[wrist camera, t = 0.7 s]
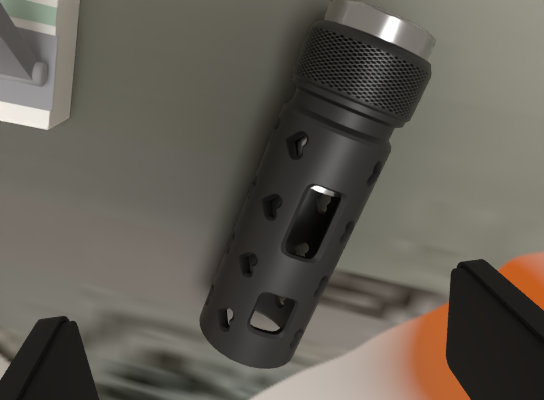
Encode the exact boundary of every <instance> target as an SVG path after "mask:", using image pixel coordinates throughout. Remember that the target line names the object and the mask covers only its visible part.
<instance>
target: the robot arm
mask: <svg viewBox="0 0 544 400" xmlns="http://www.w3.org/2000/svg"><path fill="white" fill-rule="evenodd" d="M446 359H447V363H448V365H449V368H450V370H451V371H452V373H453V374H454V375H455V377H456V378H457V380H458V381H459V383H460V384H461V386H462V387H463V389H464V390H465V391H466V393H467V394H468V396H469V397H470V399H471V400H544V311H543V310H542V309H541V308H540V307H539V306H538V305H536V304H535V303H534V302H533V301H532V300H530V298H528V297H527V296H526V295H525V294H524V293H522V292H521V291H520V290H519V289H518V288H517V287H515V286H514V285H513V284H512V283H511V282H510V281H509V280H507V279H506V278H505V277H504V276H503V275H502V274H500V273H499V272H498V271H497V270H496V269H495V268H493V267H492V266H491V265H490V264H489V263H488V262H486V261H485V260H483V259H479V260H472V261H464V262H460V263H458V265H457V268H455V269H453V270H452V272H451V281H450V297H449V312H448V328H447V344H446ZM0 400H99V397H98V394H97V391H96V387H95V384H94V380H93V377H92V374H91V370H90V367H89V363H88V360H87V357H86V353H85V350H84V346H83V343H82V339H81V336H80V333H79V329H78V326H77V323H76V322H75V321H69V319H68V318H67V317H66V316H60V317H53V318H45V319H40V320H38V322H37V323H36V324H35V326H34V327H33V329H32V331H31V332H30V334H29V335H28V337H27V339H26V340H25V342H24V343H23V345H22V347H21V348H20V350H19V351H18V353H17V354H16V356H15V358H14V359H13V361H12V362H11V364H10V366H9V367H8V369H7V370H6V372H5V374H4V375H3V377H2V378H1V380H0Z"/></svg>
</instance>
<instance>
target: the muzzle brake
mask: <svg viewBox="0 0 544 400" xmlns="http://www.w3.org/2000/svg"><path fill="white" fill-rule="evenodd" d="M434 45H435V38H434V37H433V36H432V35H431V34H430V33H429V32H428V31H426V30H425V29H423V28H422V27H420V26H418V25H416V24H415V23H413V22H411V21H409V20H407V19H405V18H403V17H400V16H398V15H396V14H393V13H391V12H388V11H386V10H383V9H380V8H378V7H375V6H372V5H369V4H365V3H362V2H358V1H354V0H332V1H331V2H330V4H329V7H328V9H327V12H326V14H325V17H324V19H318V20H317V21H315V22H314V23H313V24H312V25H311V26H310V27H309V29H308V32H307V34H306V37H305V40H304V42H303V45H302V47H301V50H300V52H299V55H298V57H297V60H296V63H295V65H294V68H293V70H292V74H293V76H294V77H293V80H292V82H293V83H294V85H295V86H296V87H297V88H296V91H295V93H294V96H293V99H292V100H291V101H288V102H286V103H285V104H284V105H283V106H282V108H281V111H280V114H279V116H278V119H277V121H276V124H275V127H274V129H273V131H272V134H271V136H270V139H269V142H268V144H267V147H266V149H265V152H264V154H263V157H262V159H261V162H260V164H259V167H258V170H257V172H256V175H255V177H254V180H253V183H252V185H251V187H250V190H249V192H248V195H247V198H246V200H245V203H244V205H243V208H242V210H241V213H240V215H239V218H238V220H237V223H236V226H235V228H234V231H233V233H232V236H231V238H230V241H229V243H228V246H227V248H226V251H225V254H224V256H223V259H222V261H221V264H220V266H219V269H218V271H217V274H216V276H215V279H214V282H213V284H212V287H211V289H210V292H209V294H208V297H207V299H206V302H205V304H204V307H203V310H202V312H201V315H200V327H201V330H202V332H203V334H204V336H205V337H206V339H207V340H208V341H209V343H210V344H211V345H212V346H213V347H214V348H215V349H216V350H218V351H219V352H220V353H221V354H223V355H225V356H226V357H228V358H229V359H231V360H233V361H236V362H238V363H240V364H243V365H246V366H250V367H255V368H265V369H270V368H277V367H280V366H283V365H285V364H286V363H288V362H289V361H290V360H291V358H292V356H293V355H294V352H295V350H296V348H297V346H298V344H299V342H300V340H301V338H302V336H303V334H304V332H305V329H306V327H307V325H308V323H309V321H310V319H311V317H312V315H313V313H314V311H315V309H316V306H317V304H318V302H319V300H320V298H321V296H322V294H323V292H324V290H325V288H326V286H327V284H328V281H329V279H330V277H331V275H332V273H333V271H334V269H335V267H336V265H337V263H338V261H339V258H340V256H341V254H342V252H343V250H344V248H345V246H346V244H347V242H348V240H349V238H350V235H351V233H352V231H353V229H354V227H355V225H356V223H357V221H358V219H359V217H360V215H361V212H362V210H363V208H364V206H365V204H366V202H367V200H368V198H369V196H370V194H371V192H372V190H373V187H374V185H375V183H376V181H377V179H378V177H379V175H380V173H381V171H382V169H383V167H384V164H385V162H386V160H387V158H388V156H389V154H390V152H391V145H390V143H389V138H390V136H391V134H392V132H393V130H394V128H400V127H403V126H404V124H405V122H408V121H410V119H411V117H412V115H413V113H414V111H415V109H416V107H417V105H418V103H419V101H420V99H421V97H422V94H423V92H424V90H425V88H426V86H427V84H428V82H429V80H430V78H431V64H430V63H429V62H428V61H427V60H428V57H429V55H430V53H431V51H432V49H433V47H434ZM325 195H330V197H331V202H330V203H329V204H328V205H327V211H326V212H323V211H322V210H321V207H320V203H319V200H318V198H321V197H323V196H325ZM303 243H307V244H308V246H309V250H308V252H307V253H305V257H304V256H300V253H299V250H298V247H297V246H298V245H301V244H303ZM278 296H280V297H284V298H287V299H285V300H284V305H281V303H280V300H279V297H278ZM229 308H230V309H231V310H232V311H233V318H232V319H230V321H229V324H230V325H229V324H228V318H227V309H229ZM254 311H257V312H259V313H261V314H263V315H265V316H266V317H268V318H269V319H271V320H272V321H273V322H274V323H276V324H277V325H278V326H279V327H280V329H278V330H277V331H273V332H272V331H267V330H262V329H259V328H256V327H253V326H252V325H251V324H250V320H251V318H252V315H253V313H254Z"/></svg>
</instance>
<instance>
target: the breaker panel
mask: <svg viewBox="0 0 544 400" xmlns="http://www.w3.org/2000/svg"><path fill="white" fill-rule="evenodd" d="M0 2H1V4H2V6H3V7H4V9H5V10H6V12H7V14H8V15H9V17H10V18H11V20H12V22H13V23H14V25H15V26H16V28H17V29H18V31H19V33H20V34H21V36H22V37H23V39H24V41H25V42H26V44H27V45H28V47H29V49H30V50H31V52H32V53H33V55H34V56H35V58H36V60H37V61H38V62H43V63H45V64H46V65H47V79H46V83H45V85H44V86H43V87H40V86H35V85H30V84H25V83H21V82H16V81H11V80H6V79H2V78H0V121H6V122H11V123H16V124H21V125H26V126H31V127H36V128H42V129H47V130H49V129H51V128H52V127H54V126H56V125H58V124H60V123H61V122H63V121H65V120H67V119H69V118H70V107H71V95H72V84H73V73H74V62H75V51H76V39H77V28H78V17H79V6H80V0H0Z"/></svg>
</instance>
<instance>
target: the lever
mask: <svg viewBox="0 0 544 400" xmlns="http://www.w3.org/2000/svg"><path fill="white" fill-rule="evenodd" d="M0 78H2V79H6V80H11V81H16V82H21V83H25V84H30V85H35V86H40V87H43V86H44V85H45V83H46V79H47V65H46V64H45V63H43V62H38V61H37V60H36V58H35V56H34V55H33V53H32V52H31V50H30V49H29V47H28V45H27V44H26V42H25V41H24V39H23V37H22V36H21V34H20V33H19V31H18V29H17V28H16V26H15V25H14V23H13V22H12V20H11V18H10V17H9V15H8V14H7V12H6V10H5V9H4V7H3V6H2V4H1V2H0Z"/></svg>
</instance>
